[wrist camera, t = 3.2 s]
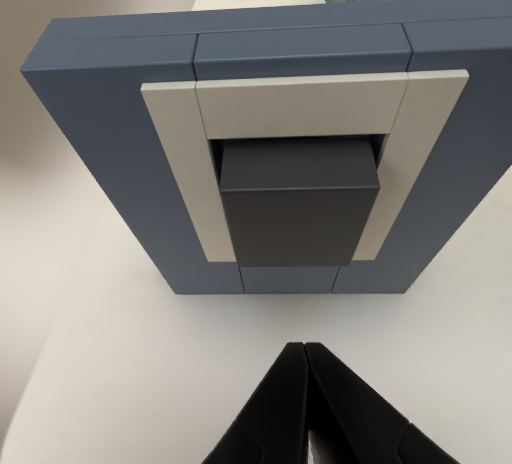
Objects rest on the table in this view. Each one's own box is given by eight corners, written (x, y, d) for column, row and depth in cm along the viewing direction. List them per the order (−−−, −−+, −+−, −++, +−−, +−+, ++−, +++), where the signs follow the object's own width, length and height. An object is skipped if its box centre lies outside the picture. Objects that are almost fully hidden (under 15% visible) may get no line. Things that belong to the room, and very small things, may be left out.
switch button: (350, 267, 13) (382, 188, 9) (237, 268, 13) (218, 191, 9) (344, 224, 14) (369, 136, 10) (239, 225, 14) (223, 140, 10)
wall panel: (405, 298, 20) (623, 48, 7) (174, 299, 21) (11, 76, 8) (396, 256, 22) (563, -11, 9) (180, 259, 22) (51, 18, 10)
